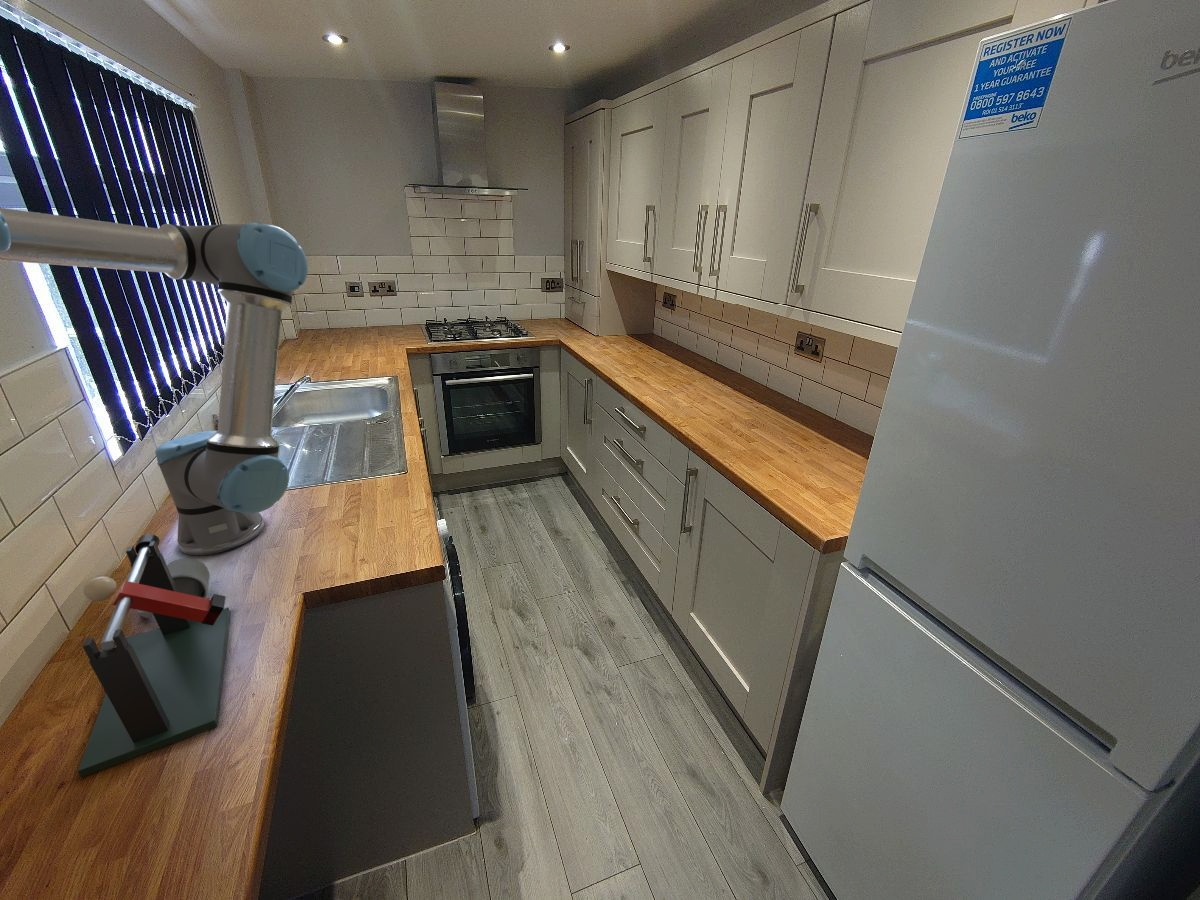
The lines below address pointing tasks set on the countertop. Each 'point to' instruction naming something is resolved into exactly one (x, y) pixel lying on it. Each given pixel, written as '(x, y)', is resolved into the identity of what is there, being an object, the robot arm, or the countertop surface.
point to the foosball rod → (149, 597)
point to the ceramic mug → (187, 578)
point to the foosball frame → (155, 680)
